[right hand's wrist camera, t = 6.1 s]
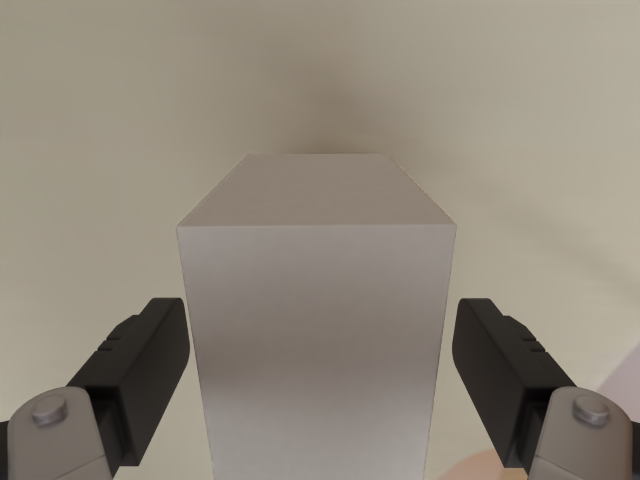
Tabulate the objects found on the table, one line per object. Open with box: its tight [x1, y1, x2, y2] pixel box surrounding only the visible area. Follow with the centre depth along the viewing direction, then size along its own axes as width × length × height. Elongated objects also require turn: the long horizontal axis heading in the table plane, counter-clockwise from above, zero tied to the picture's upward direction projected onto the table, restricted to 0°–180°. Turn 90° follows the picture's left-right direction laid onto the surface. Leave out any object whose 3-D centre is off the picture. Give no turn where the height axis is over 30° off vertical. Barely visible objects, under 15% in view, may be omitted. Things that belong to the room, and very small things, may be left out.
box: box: [176, 153, 457, 480], centre depth 17 cm, size 25×6×9 cm, turn 0°
